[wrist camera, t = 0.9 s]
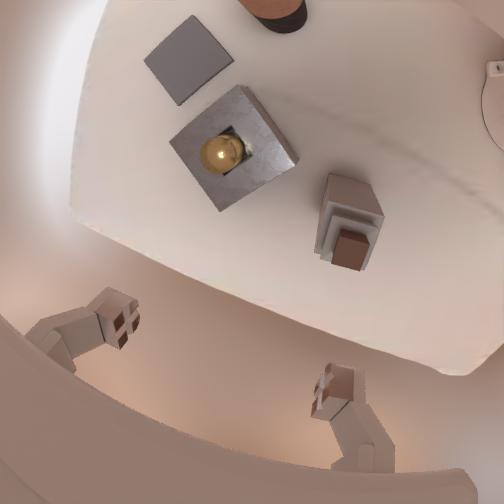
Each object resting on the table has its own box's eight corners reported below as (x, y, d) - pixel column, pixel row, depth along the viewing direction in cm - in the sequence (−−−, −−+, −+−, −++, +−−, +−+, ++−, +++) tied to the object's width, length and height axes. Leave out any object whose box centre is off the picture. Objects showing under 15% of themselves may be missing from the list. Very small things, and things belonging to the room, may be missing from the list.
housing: (247, 87, 37) (237, 85, 33) (299, 159, 41) (295, 165, 37) (184, 137, 44) (168, 141, 40) (230, 201, 48) (219, 212, 43)
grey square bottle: (319, 212, 44) (310, 272, 29) (329, 173, 41) (327, 215, 26) (358, 222, 43) (369, 288, 28) (370, 184, 40) (391, 233, 25)
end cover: (239, 125, 40) (220, 130, 33) (257, 151, 41) (242, 160, 34) (215, 143, 42) (193, 151, 35) (233, 167, 43) (214, 180, 37)
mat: (194, 16, 32) (192, 14, 31) (234, 60, 35) (232, 60, 35) (146, 60, 38) (143, 60, 37) (180, 105, 41) (177, 105, 40)
